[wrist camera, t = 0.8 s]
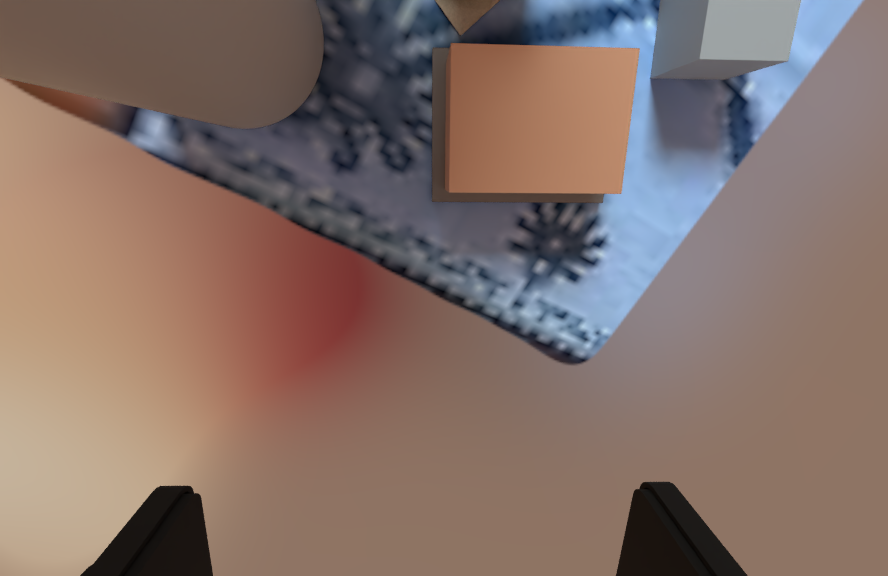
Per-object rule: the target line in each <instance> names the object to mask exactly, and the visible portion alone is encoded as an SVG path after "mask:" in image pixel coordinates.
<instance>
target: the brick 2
mask: <svg viewBox="0 0 888 576" xmlns="http://www.w3.org/2000/svg"><path fill="white" fill-rule="evenodd" d="M800 3H801V0H660V8H659V15H658V23H657V31H656V38H655V46H654V53H653V61H652V69H651V76H650V79H706V80H725V79H728V78H732V77H735V76H739V75H742V74H745V73H749V72H752V71H756V70H759V69H763V68H766V67H769V66H773V65H776V64H780V63H783V62H786V61H788V59H789V54H790V49H791V45H792V40H793V35H794V31H795V26H796V21H797V17H798V12H799V7H800Z"/></svg>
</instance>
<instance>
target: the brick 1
mask: <svg viewBox="0 0 888 576" xmlns="http://www.w3.org/2000/svg"><path fill="white" fill-rule="evenodd" d="M639 50H640V48H606V47H571V46H536V45H500V44H465V43H451V46H450V50H449V54H448V58H447V62H446V123H445V190H447V191H448V192H452V193H592V194H621V191H622V183H623V176H624V168H625V160H626V152H627V144H628V136H629V128H630V121H631V113H632V105H633V97H634V89H635V81H636V73H637V66H638V58H639Z"/></svg>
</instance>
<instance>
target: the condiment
mask: <svg viewBox="0 0 888 576" xmlns="http://www.w3.org/2000/svg"><path fill="white" fill-rule="evenodd" d="M435 1H436V2H437V3H438V5H439V6H440V7H441V9H442V10H443V12H444V13H445V15H446V16H447V18H448V19H449V21H450V22H451V23H452V24H453V26H454V27H455V29H456V30H457V31H458V33H459V34H460V36H461V35H462V34H463V33H464V32H466V31H467V30H468V29H469V28H470V27H471V26H472V25H473V24H474V23H476V22H477V21H478V20H479V19H480V18H481V17H482V16H483V15H484V14H485V13H486V12H487V11H489V10H490V9H491V8H492V7H493V6H494V5H495V4H496V3H498V2H499V1H500V0H435Z"/></svg>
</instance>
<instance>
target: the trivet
mask: <svg viewBox="0 0 888 576" xmlns="http://www.w3.org/2000/svg"><path fill="white" fill-rule="evenodd" d="M449 50H450V48H432V202H559V203H603V196H604V194H592V193H452V192H448V191H447V190H445V123H446V62H447V58H448V54H449Z"/></svg>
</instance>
